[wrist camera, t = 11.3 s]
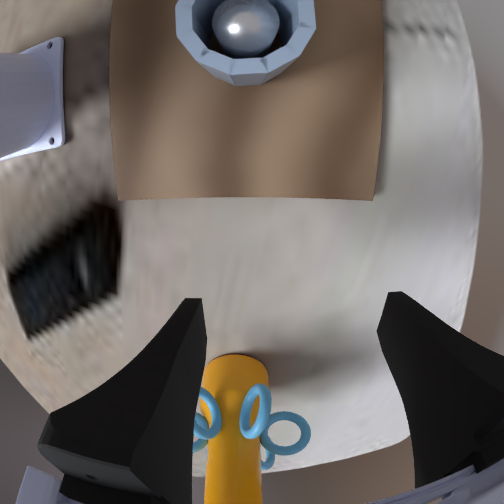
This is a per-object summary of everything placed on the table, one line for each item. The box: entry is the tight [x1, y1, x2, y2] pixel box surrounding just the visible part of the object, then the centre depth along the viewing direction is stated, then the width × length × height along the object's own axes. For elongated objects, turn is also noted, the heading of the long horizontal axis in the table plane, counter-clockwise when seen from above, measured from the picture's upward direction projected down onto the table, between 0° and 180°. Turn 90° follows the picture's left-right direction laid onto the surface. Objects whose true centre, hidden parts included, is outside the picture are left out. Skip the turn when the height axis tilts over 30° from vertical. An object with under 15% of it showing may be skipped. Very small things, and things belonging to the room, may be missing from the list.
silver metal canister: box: [212, 0, 279, 59], centre depth 11 cm, size 3×3×5 cm
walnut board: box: [109, 0, 384, 201], centre depth 14 cm, size 16×18×1 cm
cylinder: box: [193, 354, 311, 504], centre depth 20 cm, size 12×10×15 cm
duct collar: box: [175, 0, 316, 86], centre depth 10 cm, size 5×6×6 cm
